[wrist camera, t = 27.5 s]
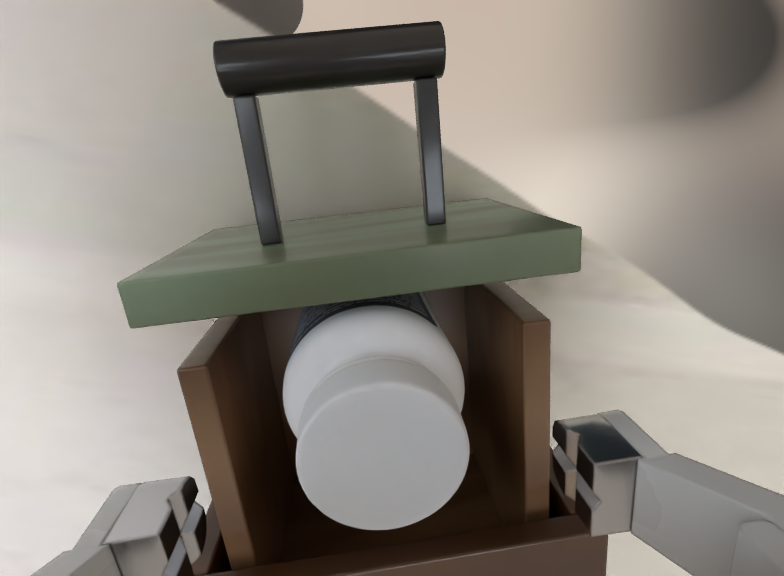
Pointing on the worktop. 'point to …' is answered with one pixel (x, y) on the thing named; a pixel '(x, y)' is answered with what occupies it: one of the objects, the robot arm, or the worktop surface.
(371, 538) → the drawer
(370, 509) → the pill bottle
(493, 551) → the cabinet
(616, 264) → the worktop surface
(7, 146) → the worktop surface
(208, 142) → the worktop surface
